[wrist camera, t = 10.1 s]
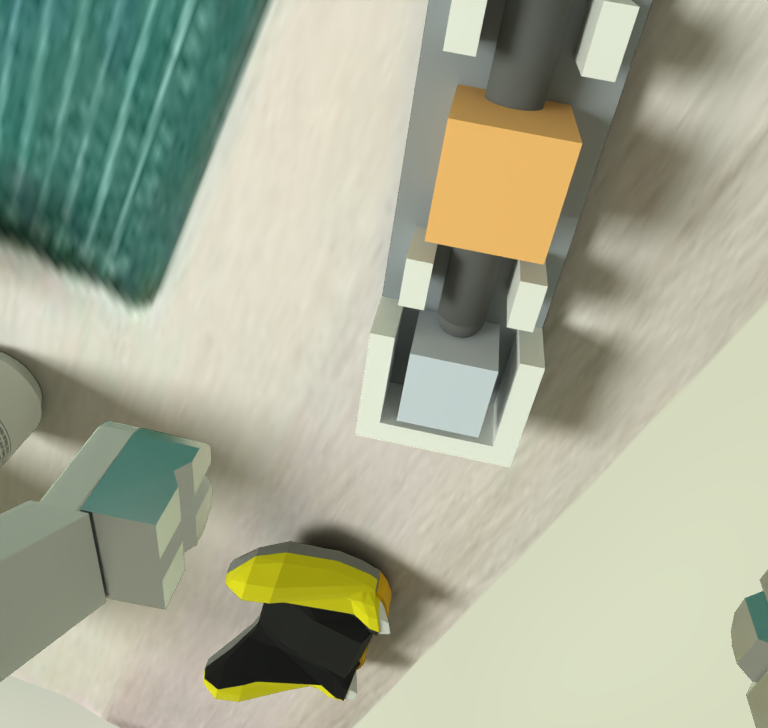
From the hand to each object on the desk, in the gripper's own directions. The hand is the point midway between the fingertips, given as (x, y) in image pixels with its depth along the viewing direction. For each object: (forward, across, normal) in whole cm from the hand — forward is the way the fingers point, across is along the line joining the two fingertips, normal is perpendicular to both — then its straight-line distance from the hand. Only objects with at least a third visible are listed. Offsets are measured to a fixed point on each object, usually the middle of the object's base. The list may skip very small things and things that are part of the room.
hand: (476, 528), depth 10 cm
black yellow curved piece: (+19, +5, +31) cm, 37 cm away
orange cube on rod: (+18, 0, +2) cm, 18 cm away
